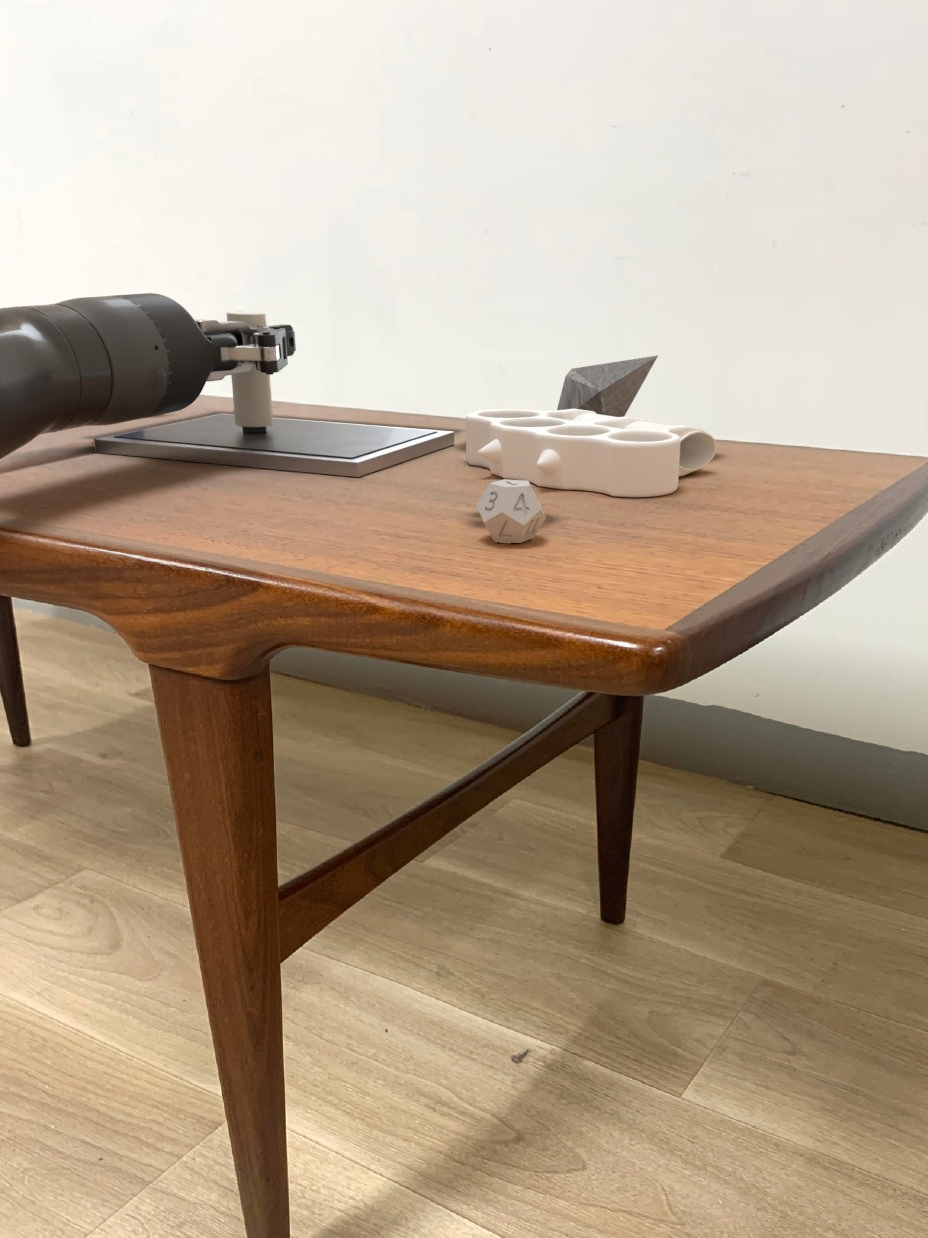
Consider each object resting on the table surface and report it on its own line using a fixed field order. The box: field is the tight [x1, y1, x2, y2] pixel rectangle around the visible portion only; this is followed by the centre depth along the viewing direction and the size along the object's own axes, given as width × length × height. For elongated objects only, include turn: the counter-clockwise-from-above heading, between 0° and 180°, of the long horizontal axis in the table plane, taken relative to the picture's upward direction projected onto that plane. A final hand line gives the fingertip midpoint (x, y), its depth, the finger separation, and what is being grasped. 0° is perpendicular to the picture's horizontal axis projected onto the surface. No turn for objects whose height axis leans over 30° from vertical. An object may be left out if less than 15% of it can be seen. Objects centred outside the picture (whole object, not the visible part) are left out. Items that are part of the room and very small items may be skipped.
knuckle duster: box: [465, 408, 717, 498], centre depth 78 cm, size 3×18×15 cm
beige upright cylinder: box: [226, 310, 274, 433], centre depth 85 cm, size 3×3×8 cm
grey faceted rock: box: [556, 355, 659, 417], centre depth 94 cm, size 12×6×9 cm
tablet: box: [93, 412, 455, 478], centre depth 86 cm, size 22×15×1 cm
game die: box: [476, 478, 547, 544], centre depth 60 cm, size 4×4×3 cm
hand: (270, 338), depth 86 cm, fingers closed on beige upright cylinder, 2 cm apart
